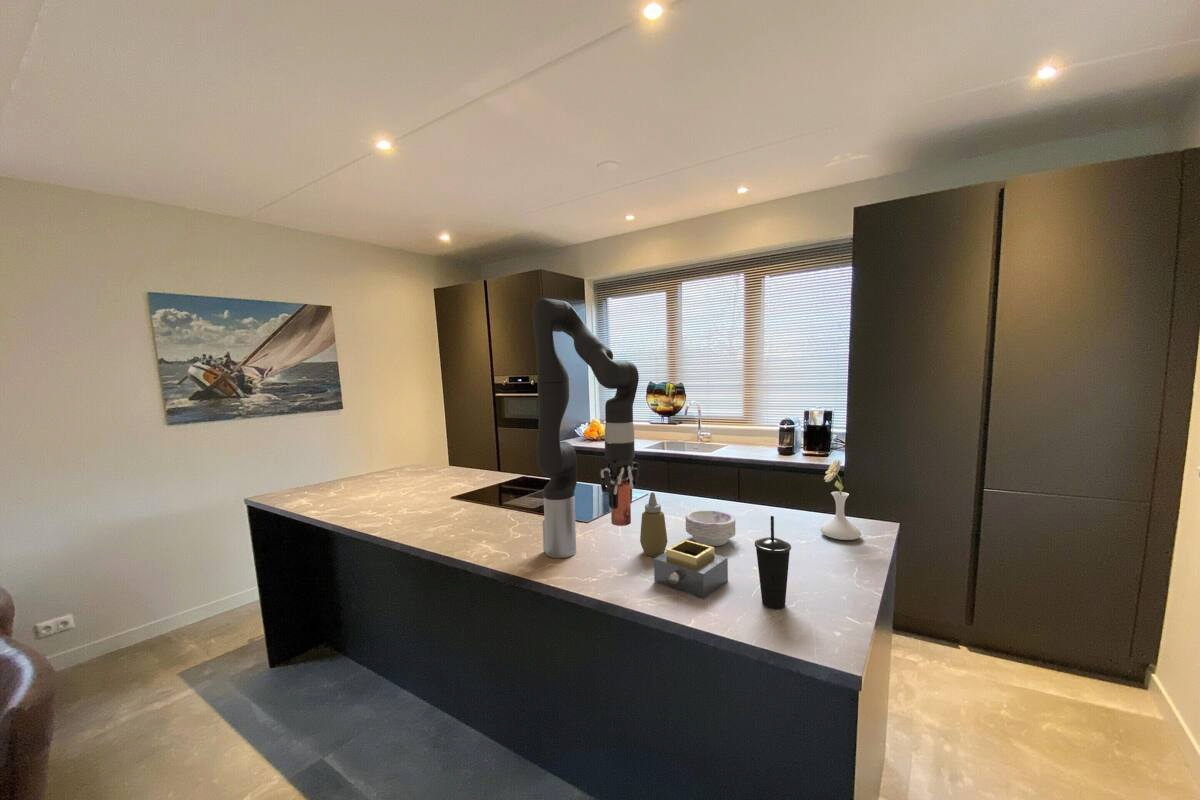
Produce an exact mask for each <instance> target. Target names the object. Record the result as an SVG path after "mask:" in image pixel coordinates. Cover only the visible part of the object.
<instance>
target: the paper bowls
mask: <svg viewBox="0 0 1200 800" xmlns="http://www.w3.org/2000/svg"><path fill="white" fill-rule="evenodd" d="M684 523H685V532H686V533H687V534H688V535H691V537H692V539H693V540H694V541H695V542H696V543H699V544H703V545H707V546H711V547H719V546H723V545H725V544H727V543H728V541H729V539H732V538H733V537H735V536H736V517H735V516H734V515H732V514H730V513H727V512H724V511H719V510H709V509H704V510H702V509H700V510H694V511H689V512H688V513H686V515H685V522H684Z"/></svg>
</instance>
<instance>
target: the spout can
mask: <svg viewBox="0 0 1200 800" xmlns="http://www.w3.org/2000/svg"><path fill="white" fill-rule="evenodd" d="M613 488H614V484H613V485H612V489H613ZM617 495H618V508H617V509H612V508H610V515H611V517H610V520H611V522H610V524H611V525H613V526H616V527H623V526H629V525H631V523H632V521H631V520H632V519H631V518H632V517H631V516H632V513H631V512H632V510H631V505H632V503H631V499H630V483H628V482H623V479H622V480H621V484H620V485H619V486H618V490H617Z"/></svg>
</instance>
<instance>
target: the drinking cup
mask: <svg viewBox="0 0 1200 800" xmlns="http://www.w3.org/2000/svg"><path fill="white" fill-rule="evenodd" d="M754 547H755V550H756V559H757V567H758V577H759V586H760V597H761V603H762V605H763V606H764V607H765V608H768V609H772V610H783V609H784V608H785V606H786V598H787V589H788V588H787V587H788V577H789V576H788V575H789V574H788V573H789V563H790V554H791V553H790V552H791V550H792V545H791V544H790V543H789V542H787V541H785V540H783V539H780V538H777V537H775V516H774V515H770V537H769V536H768V537H764V538H759V539H757V540H755V541H754Z"/></svg>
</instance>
